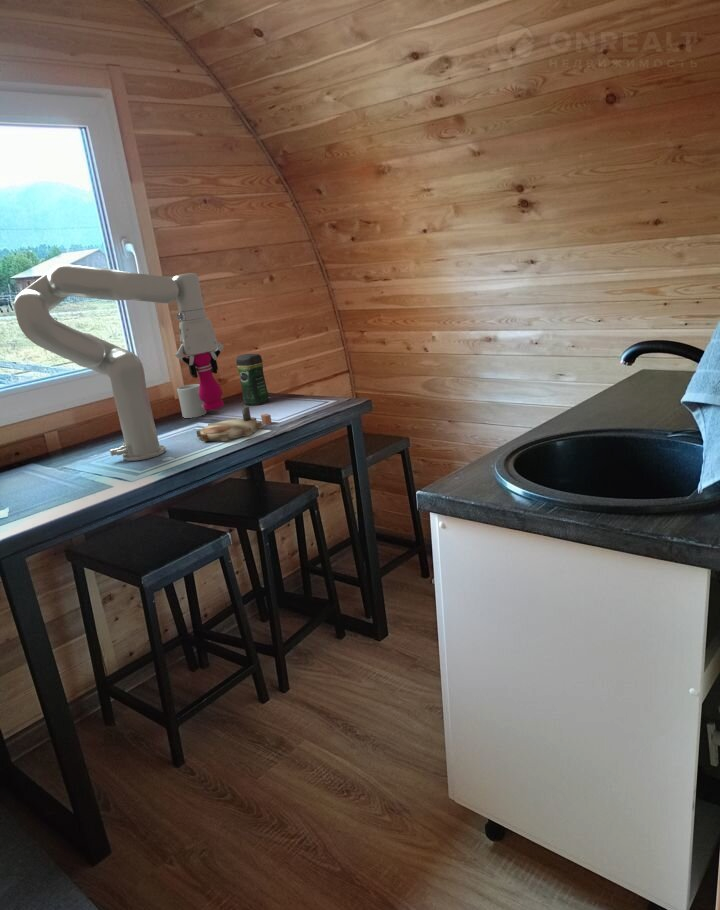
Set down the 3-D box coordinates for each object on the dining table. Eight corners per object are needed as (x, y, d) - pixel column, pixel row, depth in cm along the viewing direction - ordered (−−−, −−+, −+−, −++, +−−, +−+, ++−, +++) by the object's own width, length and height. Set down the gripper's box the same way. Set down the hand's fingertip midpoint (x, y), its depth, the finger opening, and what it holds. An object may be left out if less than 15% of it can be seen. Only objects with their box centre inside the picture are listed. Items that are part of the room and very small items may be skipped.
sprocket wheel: (222, 444, 213) (218, 425, 212) (185, 438, 227) (181, 420, 226) (274, 426, 227) (271, 407, 225) (236, 421, 241) (233, 403, 239)
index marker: (266, 425, 232) (264, 416, 231) (262, 423, 234) (260, 415, 233) (271, 423, 233) (270, 414, 232) (268, 422, 235) (266, 413, 234)
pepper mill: (221, 409, 219) (204, 345, 213) (199, 412, 221) (181, 349, 214) (228, 402, 226) (212, 340, 219) (207, 405, 227) (190, 343, 221)
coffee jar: (273, 401, 268) (264, 351, 262) (257, 406, 262) (248, 356, 257) (256, 399, 274) (247, 351, 269) (240, 405, 269) (231, 356, 263)
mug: (178, 419, 259) (171, 389, 256) (192, 413, 267) (186, 384, 263) (204, 418, 254) (198, 388, 251) (218, 412, 261) (213, 383, 258)
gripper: (168, 321, 207) (181, 382, 212) (224, 311, 215) (235, 370, 220) (161, 320, 213) (174, 380, 219) (215, 311, 222) (226, 368, 227)
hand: (204, 374), depth 219 cm, fingers closed on pepper mill, 5 cm apart
